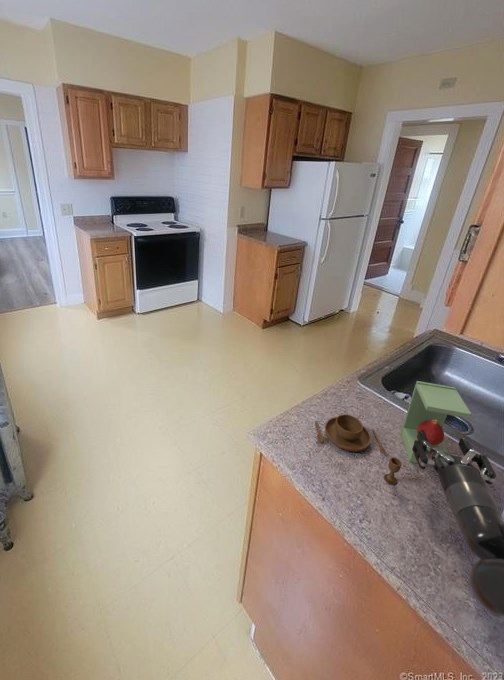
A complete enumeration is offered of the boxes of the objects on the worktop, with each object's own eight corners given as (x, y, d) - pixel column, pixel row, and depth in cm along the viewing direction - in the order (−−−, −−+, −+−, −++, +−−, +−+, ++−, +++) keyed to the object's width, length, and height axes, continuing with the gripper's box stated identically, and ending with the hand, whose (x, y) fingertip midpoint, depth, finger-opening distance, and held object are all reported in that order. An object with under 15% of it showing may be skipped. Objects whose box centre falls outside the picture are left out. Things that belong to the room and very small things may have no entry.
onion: (411, 444, 84) (419, 420, 81) (416, 431, 88) (424, 408, 85) (437, 456, 80) (446, 431, 77) (441, 443, 84) (450, 419, 81)
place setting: (372, 424, 94) (376, 408, 92) (401, 485, 76) (407, 467, 74) (311, 418, 96) (314, 402, 93) (325, 477, 77) (329, 459, 75)
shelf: (449, 470, 80) (472, 413, 73) (409, 461, 82) (428, 405, 76) (436, 440, 89) (455, 387, 82) (400, 433, 91) (416, 380, 84)
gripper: (519, 493, 59) (480, 431, 74) (433, 474, 63) (411, 417, 78) (505, 521, 62) (469, 455, 77) (423, 500, 66) (404, 441, 80)
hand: (440, 436), depth 77 cm, fingers open, 8 cm apart
